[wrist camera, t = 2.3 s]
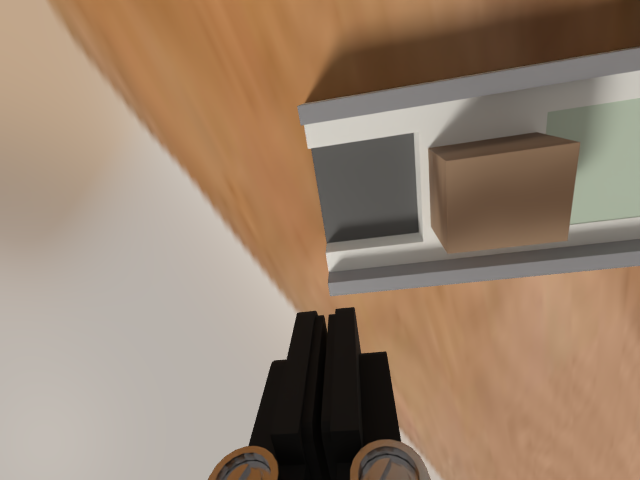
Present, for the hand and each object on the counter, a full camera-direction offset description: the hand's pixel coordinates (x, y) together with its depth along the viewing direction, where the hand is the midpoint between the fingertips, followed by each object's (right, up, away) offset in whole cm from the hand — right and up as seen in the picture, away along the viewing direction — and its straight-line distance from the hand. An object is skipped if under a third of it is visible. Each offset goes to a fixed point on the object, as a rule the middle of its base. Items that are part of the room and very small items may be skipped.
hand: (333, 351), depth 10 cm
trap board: (+13, +8, +12) cm, 19 cm away
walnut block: (+9, +7, +11) cm, 16 cm away
